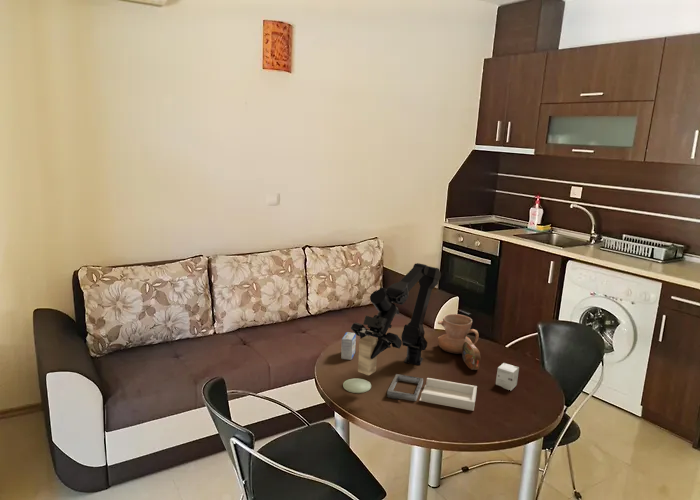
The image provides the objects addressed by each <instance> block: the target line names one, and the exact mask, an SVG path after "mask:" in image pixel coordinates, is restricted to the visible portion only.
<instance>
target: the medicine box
mask: <svg viewBox="0 0 700 500" xmlns="http://www.w3.org/2000/svg"><path fill="white" fill-rule="evenodd" d="M356 341H357V335H356V334H355V333H354V332H349V331H346V332H345V333H344V336H342V338H341V349H340V350H341V352H340V355H341V356H340V357H341V359H342V360H350V361H352V360H353V359H354V355H355V353H356V346H357V345H356Z"/></svg>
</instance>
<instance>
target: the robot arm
mask: <svg viewBox="0 0 700 500" xmlns="http://www.w3.org/2000/svg"><path fill="white" fill-rule="evenodd" d="M441 277H442V272H441V271H440V268H439V267H433V266H428V265H427V264H424V263H419V262H417V263H414V264H413V267H412V268H411V269H410V270H409V271H408V272H407V273H406V274H405V275H404V277H402V278H401V279H400V280H399V281H398V282H394V283H392V284H390V285H389V286H388V287H387V288H385V287H379V289H376V290H374V291H373V292H371V294H370V297H369V301H370V303H371V304H372V305H373V306H374V307H375V309H376V310H377V311H378V312H377V314H374V315H373V317H372V316H369V315H365V316H364V320H363V323H359V322H356V321H355V322H353V323H352V324H351V326H350V329H351V331H352V333H355V334H356V337H357V336H358V337H359V339H361V338H363V337H365V336H370V337H373V338H376V339H378V340H377V345H376V347H375V349H374V350H373V352H372V355H371V359H373V358H375V357H376V356H377V357H378V355H380V354H382V353H383V352H384V351H385V350H387V349H390V348H391V347H393V348H395V349H399V350H400V349H401V347H402V346H404V347H407V348H406V356H405V359H404V364H410V365H411V364H412V365H416V366H421V364H422V362H423V360H424V358H423V357H422V351H426V350H427V349H426V348H428V341H427V339H426V338H425V334H426V333H425V329H424V322H425V317H426V314H427V309H428V305H429V302H430V298H431V294H432V292H433V291H432V290H433V289H434V288H435V287H436V286H438V285H439V281H440V280H441ZM417 283H418V284H419V289H418V292H417V296H416V301H415V304H414V308H413V311H412V315H411V319H410V321H409V323H407V324H405V325H404V326H403V329H402V332H401V338H400V337H399V335H398V334H395V333H392V332H388V331H389V329H391V328H392V326H393V325H392V322H393V319H394V318H395V316H396V315H399V314H400V310H399V306H397V305H401V306H402V305H404V304H405V302H406V301H407V300H408V298H409V292H410V291H411V290H412V289H413V288H414V287H415V286H416V284H417ZM396 304H397V305H396ZM366 326H367V327H366Z"/></svg>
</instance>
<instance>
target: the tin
mask: <svg viewBox="0 0 700 500" xmlns="http://www.w3.org/2000/svg"><path fill="white" fill-rule="evenodd" d="M461 355H462V361H463V363H464V364H465V365H466V366H467V368H468V369H470V370H471V371H477V370H479V368H480V364H481V359H482V357H481V352H480V350H479V348H478V347H476V345H474V344H473V341H472V342H464V344H463V348H462V354H461Z"/></svg>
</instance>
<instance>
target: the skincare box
mask: <svg viewBox="0 0 700 500" xmlns="http://www.w3.org/2000/svg"><path fill="white" fill-rule="evenodd" d="M496 371H497V372H496V378H495V385H496V386H499V387H501V388H503V389H504V390H506V391H507V390H508V391H509V390H510V392H511V391H513V390H514V388H515V387H517V385H518V379H519V378H518V377H519V371H520V367H519V366H515V365H512V364H509V363H506V362H503V363H501V365H499V366H498V367H497V368H496Z"/></svg>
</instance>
